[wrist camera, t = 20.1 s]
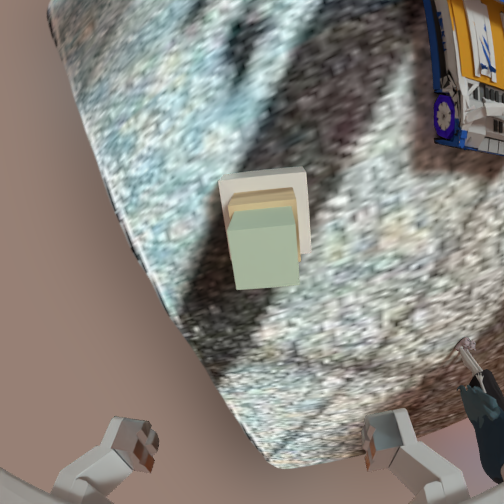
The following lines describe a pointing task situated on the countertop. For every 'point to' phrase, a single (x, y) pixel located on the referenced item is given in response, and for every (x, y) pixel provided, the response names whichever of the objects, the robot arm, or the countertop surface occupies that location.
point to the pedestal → (270, 181)
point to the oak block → (266, 203)
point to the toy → (484, 412)
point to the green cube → (264, 248)
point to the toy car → (468, 72)
